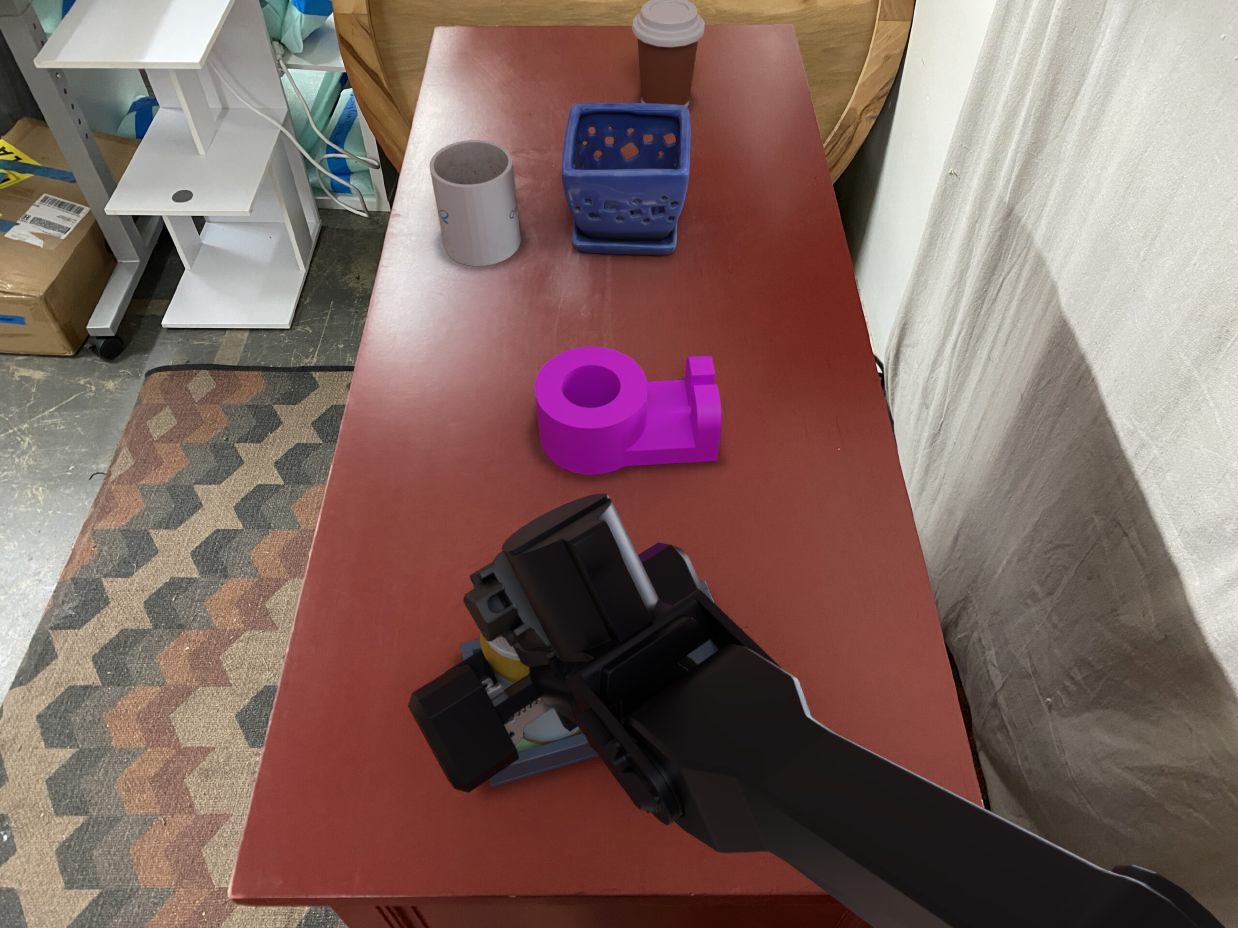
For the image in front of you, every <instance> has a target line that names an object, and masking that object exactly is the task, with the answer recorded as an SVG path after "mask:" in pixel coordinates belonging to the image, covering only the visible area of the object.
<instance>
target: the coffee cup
mask: <svg viewBox="0 0 1238 928" xmlns="http://www.w3.org/2000/svg"><path fill="white" fill-rule="evenodd" d="M698 11H699V10H698V8H697V6H696V5H695V4H694V3H693V2H691V1H690V0H648V1H646V2H645V3H644V4H643V5H642V6H641V8H640V12H639V13H638V14H637V15H635V16H634V17H633V20H632V23H631V24H632V25H631V31H632V33H633V34H634V37H635V38H636V39H637V52H638V67H639V68H638V69H639V83H640V84H639V85H640V103H649V104H674V105H684V106H686V107H687V108H688V106H689V105H690V98H691V97H690V96H691V90H692V83H693V77H694V70H695V64H696V63H695V62H696V56H697V49H698V43H699V40H701V38H703V37H704V35H705V30H706V22H705V20H704V19H703V18H702V16H701V15H700V14H699V13H698Z"/></svg>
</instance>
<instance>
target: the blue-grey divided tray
mask: <svg viewBox="0 0 1238 928" xmlns="http://www.w3.org/2000/svg"><path fill="white" fill-rule="evenodd" d="M699 581H700V583H701V585H702V587H703V590H704V592H705V594H706V596H707V597H709V598H710V599H711V600H712V601H713V602H714V599H713V597H712V594H711V591H710V589H709V587H708V584H707V582H706V579H703V580H699ZM714 603H715V602H714ZM459 646H460V652H461V658H462V661H463V660H465V659H467V658H468V657H470V656H472V655H473V654H475V653H477V652H478V651H480V650H482V649H481V645H480V638H477V639H473V640H469V641H466V642H465V641H464V642H461V643H459ZM716 651H718V649H717V648H716V646H715V645H714V644H713V642H712V641H711V640H709V641H707V642H706V643H704V644H703V645H701V646H700V647H699V648H697V649H696V650H694V651H693V652H691V653H690V654H689V655H687V656H689V657H690V658H691V659H693V660H694V661H695V662H696V663H697V664H699V663H701V662H702V661H704V660H705V659H706V658H708V657H709V656H711V655H712V654H714V653H715V652H716ZM515 747H516V749H517V751H518V756H519V759H518V760H517V761H515V762H514V763H512V764H511V765H509V766H508V767H506V768H505V769H503V770H502V771H500V772H499V773H497V774H496V775H494V776H493V777H491V778H490V779H488V781H489V784H490V787H491V788H495V787H498V786H501V785H505V784H509V783H512V782H515V781H519V780H522V779H525V778H529V777H533V776H536V775H539V774H542V773H547V772H549V771H553V770H556V769H560V768H563V767H567V766H569V765H573V764H576V763H577V764H578V763H580V762H584V761H587V760H591V759H594V758H598V757H600V756H599V755H598V753H597V752H596V751H595V750H594V749H593V748H591V747H590V745H589V743H588V741H587V739H586V737H585V735H584V734H583V733H582V731H581V732H580V733H579V734H578V735H576V736H572V737H569V738H565V739H562V740H558V741H555V742H551V743H548V744H544V745H541V744H536V743H532V742H529V741H527V740H525V739H523V738H522V740H521V741H520V742H519V743H518V744H517V745H515Z"/></svg>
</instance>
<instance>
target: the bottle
mask: <svg viewBox="0 0 1238 928" xmlns="http://www.w3.org/2000/svg"><path fill="white" fill-rule="evenodd" d="M479 639H480V645H481V649H482V652H483V654H484V656H485V658H486V660H487V662H488V664H489V666H490V668H491V670H492V671H493V673H494V675H495V677H496V679H497V681H498V683H499V684H501V685H502V687H503V689H506V688H508V687H509V686H511V685H512V684H514V683H515V682H517V681H519V680H520V679H522V678H523V677H525V676H526V675H528V674H530V671H529V667H528V666H526V665H524V664H522V663H521V661H520V659H519V657H518V655H517V653H516V651H515V649H514V647H513V646H512V647H511V646H510V645H509V644H508V642H507V641H506V639H505V638H504V637H498V638H496V639H495V640H493V641H491V642H489V641H487V640H486V639H485V638H484V636H483V635H482V633H481V631H480V630H479ZM539 699H540V700H541V698H539ZM534 703H536V701H534ZM528 707H530V704H529V705H528ZM522 710H523V711H524V708H523V709H522ZM516 714H517V715H518V714H519V712H517V713H516ZM523 731H524V733H525V735H524V736H523V739H525V740H527V741H529V742H532V743H536V744H541V745H544V744H548V743H551V742H555V741H558V740H562V739H565V738H569V737H572V736H576V735H578V734H579V733H580V732H581V730H580V729H579V727H576V728H575V729H573V730H572V731H570V732H569V731H568V730H567V729H565V728H564V727H563V725H562V723H561V721H560V719H559V717H558V715H557V713H556V711H555V709H554V708H552V709H550V710H549V711H547V712H545V713H544V714H542V715H541V716H539V717H538V718H536V719H535V720H533V721H532V722H530V723H529V724H527V725H526V726H525V727H524V729H523Z"/></svg>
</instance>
